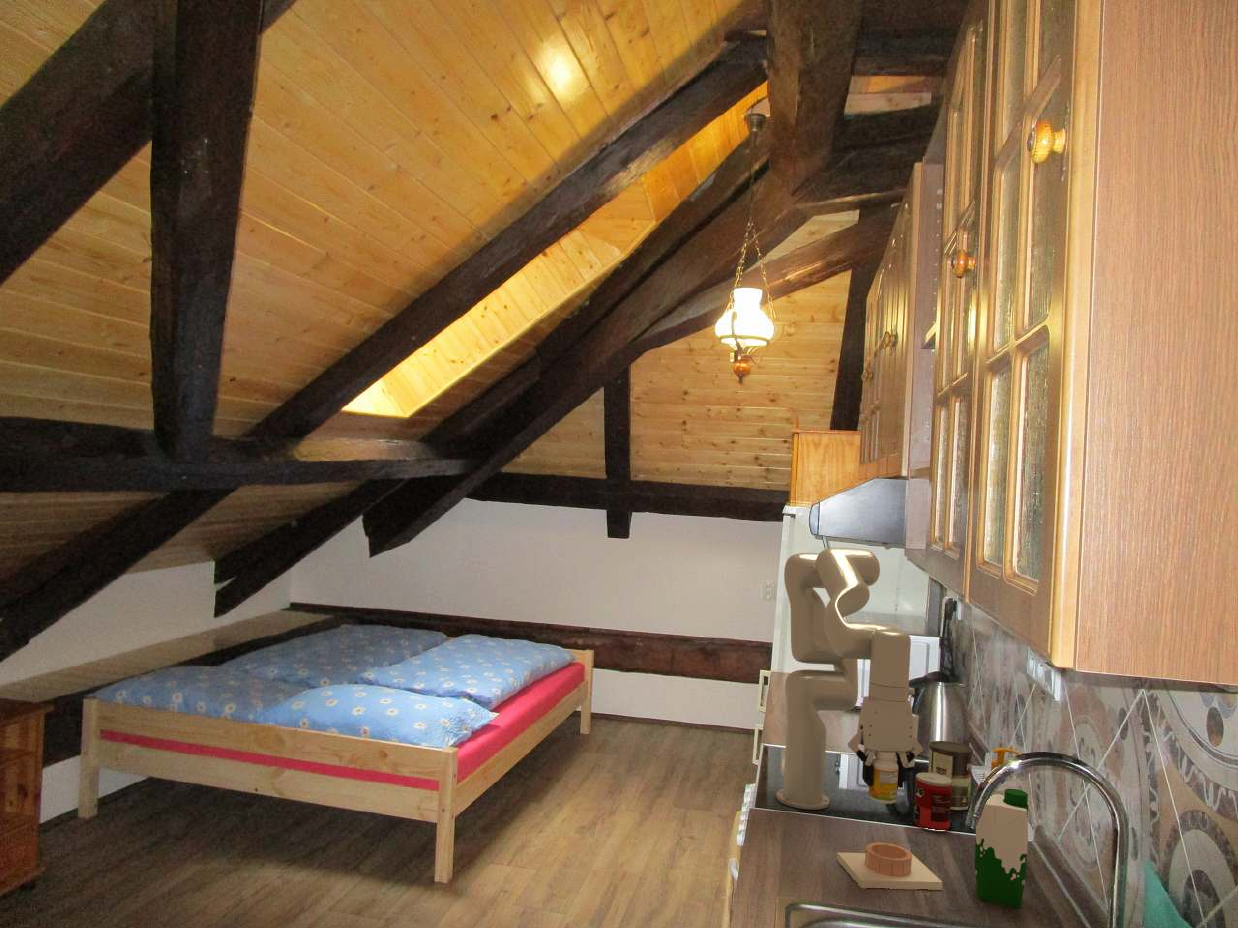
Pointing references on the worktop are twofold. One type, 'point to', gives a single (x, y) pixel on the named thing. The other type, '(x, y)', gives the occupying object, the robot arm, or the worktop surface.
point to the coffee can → (953, 769)
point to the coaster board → (870, 878)
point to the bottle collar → (888, 859)
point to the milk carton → (1002, 848)
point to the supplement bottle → (884, 778)
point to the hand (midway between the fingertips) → (883, 783)
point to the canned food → (932, 801)
